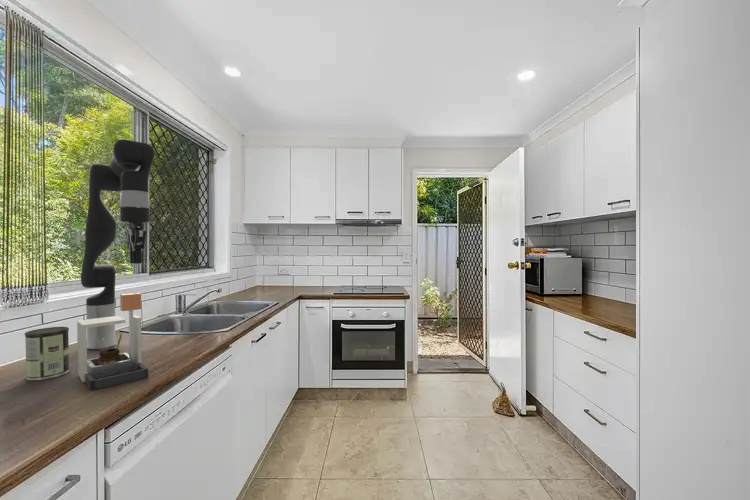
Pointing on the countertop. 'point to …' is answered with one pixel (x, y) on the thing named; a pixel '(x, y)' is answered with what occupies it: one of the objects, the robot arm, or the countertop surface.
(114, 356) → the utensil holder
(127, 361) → the slider
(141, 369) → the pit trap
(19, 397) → the countertop surface
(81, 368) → the white and grey frame
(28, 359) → the coffee can
